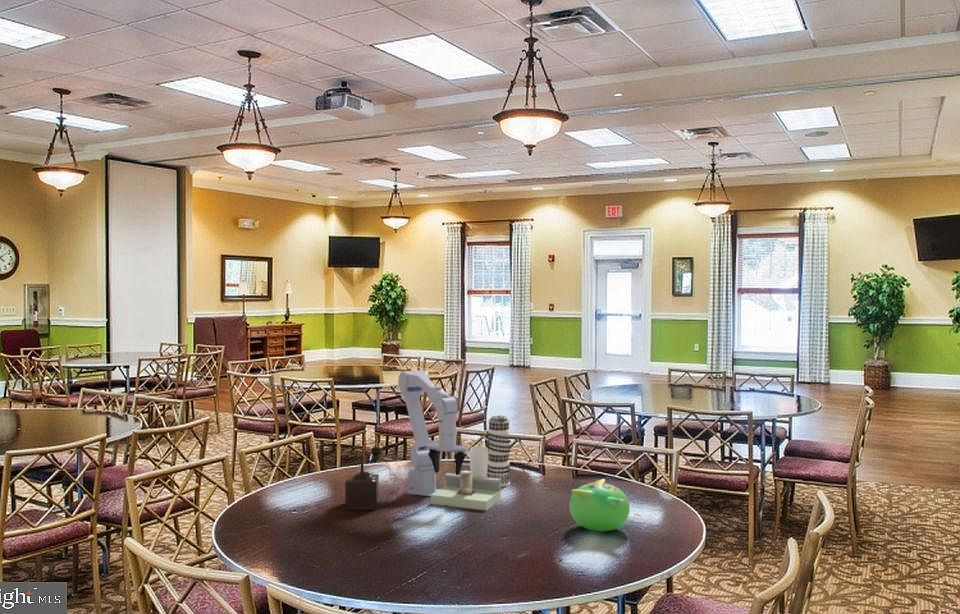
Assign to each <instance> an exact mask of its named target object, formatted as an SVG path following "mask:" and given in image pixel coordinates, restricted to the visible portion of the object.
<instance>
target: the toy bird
mask: <svg viewBox="0 0 960 614" xmlns="http://www.w3.org/2000/svg"><path fill="white" fill-rule="evenodd" d="M570 491H571V493H572V494H571V497H570V499H569V513H570V514H571V517H572V518H573V520H574V521H575V522H576V523H577V524H578V526H579V525H580V526H581V527H582V528H585V529H587V530H590V531H593V532H594V531H595V532H609V531H613V530H616V529H618V528H620V527H621V526H623V525H624V524H625V523H626V521H627V519H628V517H629V515H630V502H629V499H628V497H627V495H626V494H625V492H623V490H621V489H620V488H618V487H617V486H615V485H612V484H609V483H606V479H605V478H601V479H598V480H596V481H594V482H590V483H586V484H584V485H580V486H579V487H577V488H576V489H570Z"/></svg>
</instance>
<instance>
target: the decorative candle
mask: <svg viewBox="0 0 960 614" xmlns="http://www.w3.org/2000/svg"><path fill="white" fill-rule="evenodd" d="M487 429H488V430H487V431H486V439H487V441H486V443H487V444H486V447H487V448H488V453H489V458H488V470H487V477H489V478H499V479H501V488H502V487H507V486H509V485H511V482H510V481H511V479H510V477H511V474H510V471H511V469H510V467H511V465H510V459H509V458H510V453H511V451H512V450H511V447H512V446H511V445H510V443H512V441H511V440H510V439H511V438H512V436H511V435H510V420H509V419H508V417H507V416H505V415H493V416H491V417H490V419H489V420H488V428H487Z"/></svg>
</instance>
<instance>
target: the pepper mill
mask: <svg viewBox="0 0 960 614" xmlns="http://www.w3.org/2000/svg"><path fill="white" fill-rule="evenodd" d="M382 452H383V449H382V448H381V447H379V446H373V447H371V449H370V453H371V455H372V458H371V460H364V459H365V457H364V456H360V457H359V459H360V460H359V464H360V471H359V472H357V473H355V474H349V475H348V477H347V479H346V481H345V482H344V486H345V487H344V488H345V492H344V493H345V498H344V499H345V503H344V504H345V507H344V509H345V511H346V512H347V511H348V512H349V511H354V512H355V511H363V512H364V511H377V509H378V507H379V506H380V504H381V501H380V498H379V495H380V490H379V489H380V479H379V477H380V474H378V473H375V474H374V472H373V471H371V472H369V471H367V470H366V471H365V470H364V464H365V465H366V464H371V463H376V462H378V461H380V460H381V458H380V456H381V454H382Z"/></svg>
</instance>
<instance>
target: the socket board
mask: <svg viewBox="0 0 960 614" xmlns="http://www.w3.org/2000/svg"><path fill="white" fill-rule="evenodd" d="M444 478H446V479H445V481H446V482H445V485H444V486H443V487H440V488H438V489H439V490H438V491H436V492H435V493H433V494H432V495H431V496H430V504H432V505H438V506H439V505H440V506H445V505H447V506H448V507H453V506H454V507H455V508H463V509H472V510H479V511H488V510H489V509H490V508H491V507H492V506H494V505H495V504H496V503H498V502H499V501H500V500H501V491H502V489H501V488H502V487H501V479H499V478H489V477H488V476H487V477H480V476H472V495H471V496H470V495H461V494H460V482H461V473H460V474H459V475H456V473H450V472H447V473H445V474H444ZM447 506H446V507H447Z"/></svg>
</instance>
